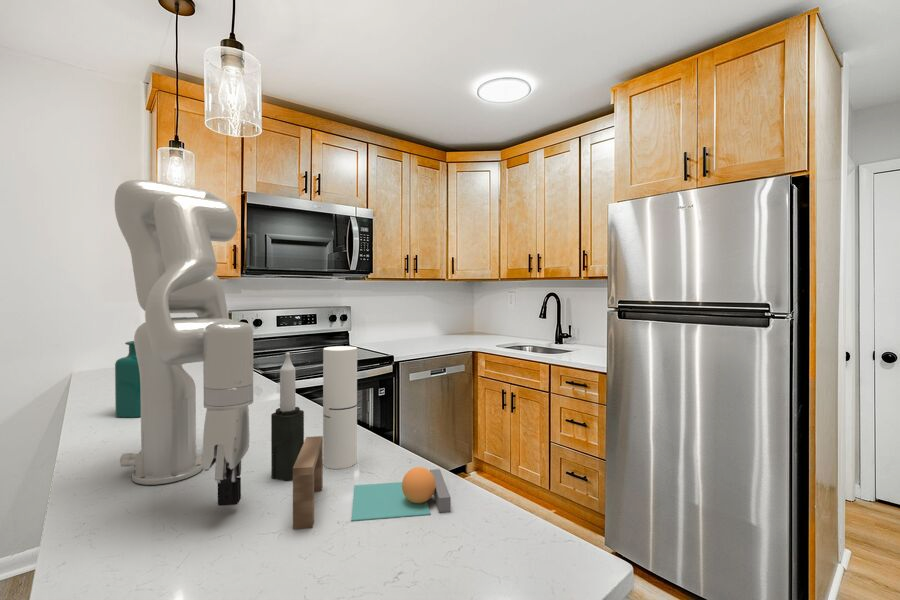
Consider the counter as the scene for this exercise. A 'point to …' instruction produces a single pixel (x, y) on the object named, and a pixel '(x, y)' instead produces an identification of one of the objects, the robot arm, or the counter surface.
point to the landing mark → (384, 502)
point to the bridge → (307, 481)
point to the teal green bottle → (127, 385)
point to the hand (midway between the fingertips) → (229, 502)
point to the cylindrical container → (339, 406)
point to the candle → (286, 426)
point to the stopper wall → (441, 492)
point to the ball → (418, 485)
